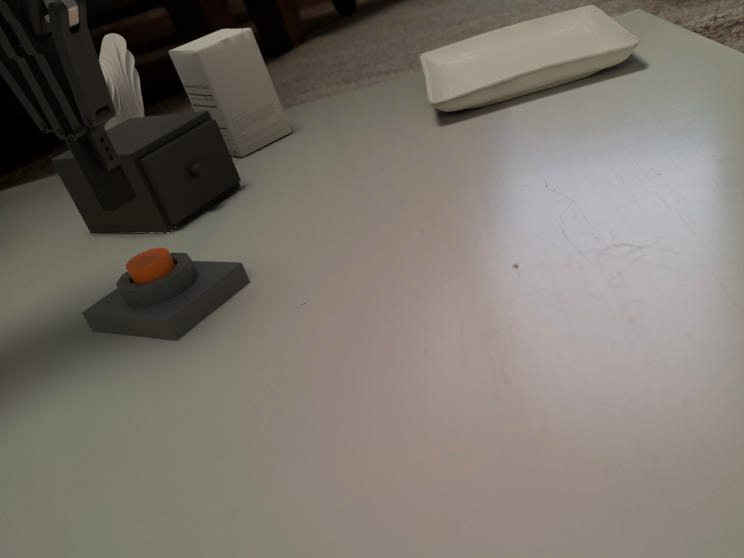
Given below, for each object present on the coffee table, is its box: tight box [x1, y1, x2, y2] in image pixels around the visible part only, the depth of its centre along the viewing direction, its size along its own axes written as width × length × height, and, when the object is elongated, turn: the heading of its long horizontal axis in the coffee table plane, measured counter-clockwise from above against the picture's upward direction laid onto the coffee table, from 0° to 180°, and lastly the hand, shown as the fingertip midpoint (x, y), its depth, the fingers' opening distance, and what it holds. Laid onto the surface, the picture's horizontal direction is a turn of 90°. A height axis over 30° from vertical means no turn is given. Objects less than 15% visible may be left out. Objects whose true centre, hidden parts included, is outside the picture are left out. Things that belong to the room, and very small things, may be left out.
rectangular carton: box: [167, 27, 292, 158], centre depth 118 cm, size 9×9×15 cm
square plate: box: [419, 4, 641, 112], centre depth 116 cm, size 27×27×4 cm
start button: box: [125, 247, 175, 284], centre depth 78 cm, size 4×4×2 cm
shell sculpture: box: [98, 32, 146, 130], centre depth 124 cm, size 8×8×18 cm
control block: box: [81, 252, 251, 341], centre depth 79 cm, size 12×10×4 cm
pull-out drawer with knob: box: [138, 119, 242, 224], centre depth 102 cm, size 15×12×8 cm
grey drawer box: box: [50, 111, 241, 234], centre depth 103 cm, size 15×13×10 cm
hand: (120, 203), depth 74 cm, fingers closed
